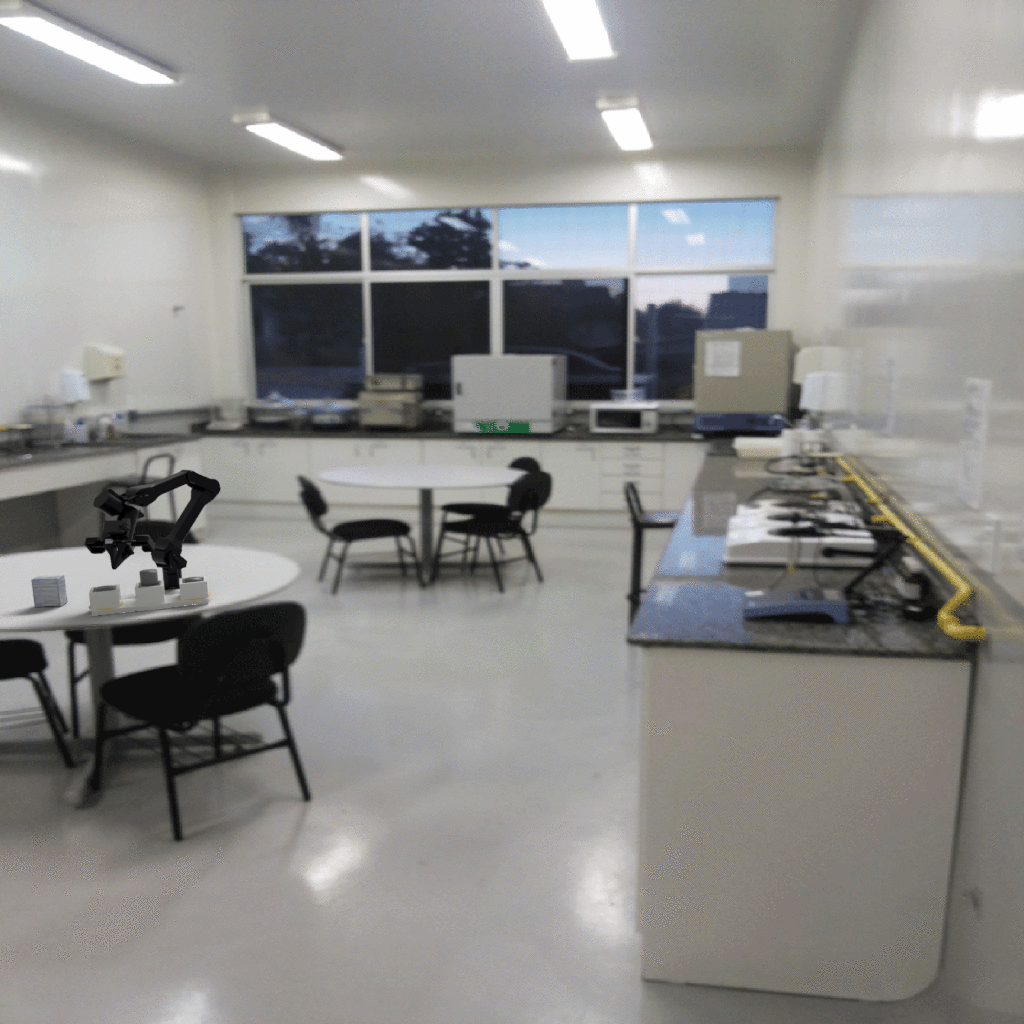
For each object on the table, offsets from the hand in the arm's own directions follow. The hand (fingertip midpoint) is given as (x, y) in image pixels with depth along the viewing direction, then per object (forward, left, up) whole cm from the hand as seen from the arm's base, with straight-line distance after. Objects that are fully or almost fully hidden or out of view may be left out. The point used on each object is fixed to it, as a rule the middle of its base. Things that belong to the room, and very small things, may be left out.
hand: (113, 568), depth 256 cm
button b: (+2, +9, -5) cm, 11 cm away
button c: (+2, -3, -9) cm, 9 cm away
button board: (+2, +9, -12) cm, 15 cm away
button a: (+2, +21, -9) cm, 23 cm away
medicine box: (-12, -19, -12) cm, 25 cm away
